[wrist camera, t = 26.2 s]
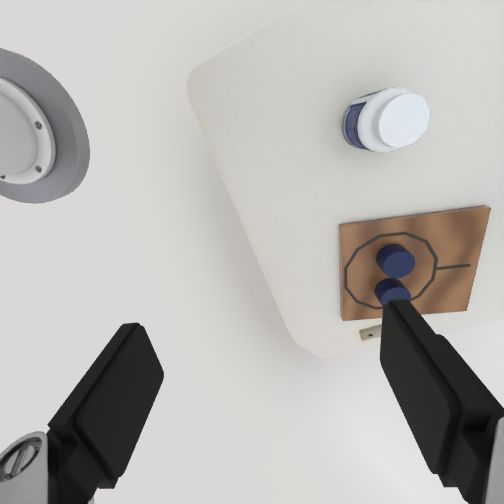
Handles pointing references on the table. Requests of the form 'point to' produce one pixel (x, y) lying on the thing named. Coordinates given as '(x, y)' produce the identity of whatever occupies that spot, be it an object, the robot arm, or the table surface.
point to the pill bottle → (385, 120)
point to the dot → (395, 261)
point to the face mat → (426, 260)
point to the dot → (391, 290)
